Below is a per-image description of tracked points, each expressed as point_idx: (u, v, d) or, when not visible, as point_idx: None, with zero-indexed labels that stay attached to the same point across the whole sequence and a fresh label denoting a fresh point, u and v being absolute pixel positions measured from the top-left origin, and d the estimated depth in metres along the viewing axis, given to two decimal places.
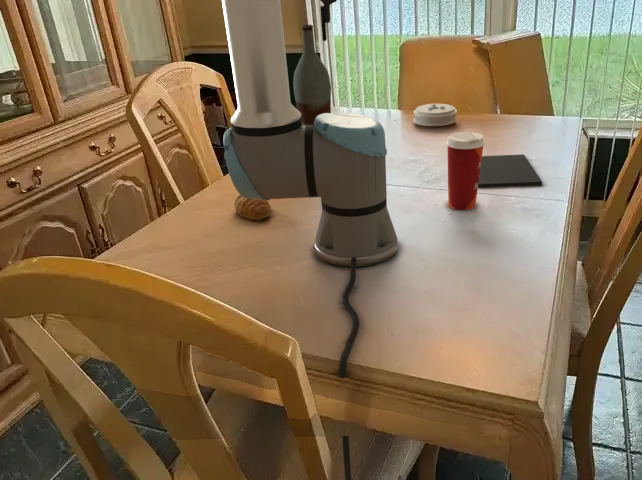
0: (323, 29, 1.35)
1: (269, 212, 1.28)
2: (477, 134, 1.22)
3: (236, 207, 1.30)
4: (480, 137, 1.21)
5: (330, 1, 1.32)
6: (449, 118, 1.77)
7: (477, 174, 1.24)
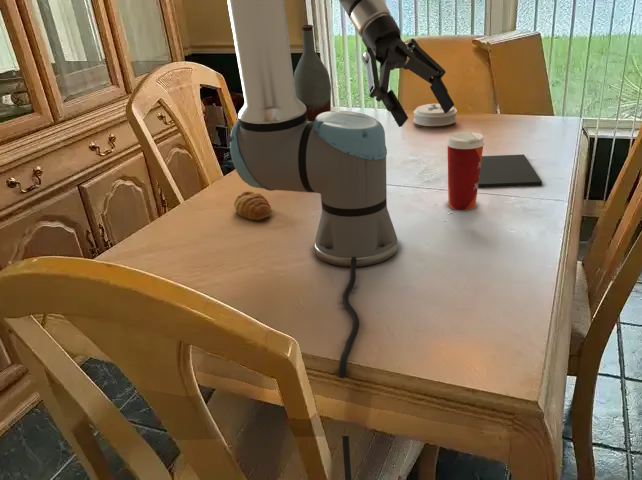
0: (447, 95, 1.29)
1: (269, 212, 1.28)
2: (477, 134, 1.22)
3: (236, 207, 1.30)
4: (480, 137, 1.21)
5: None
6: (449, 118, 1.77)
7: (477, 174, 1.24)
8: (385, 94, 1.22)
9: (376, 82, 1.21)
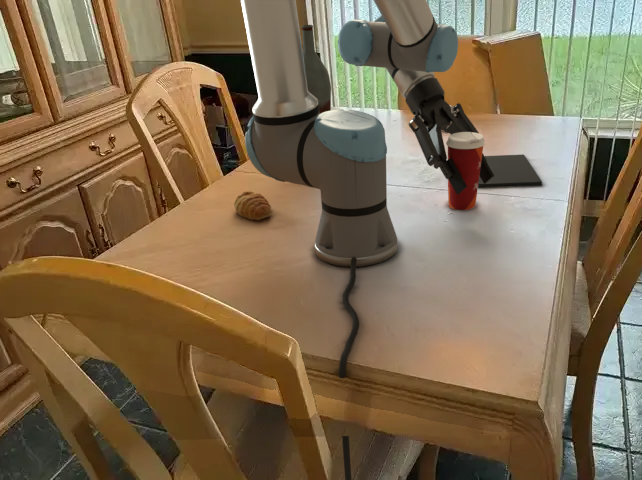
0: (487, 166, 1.26)
1: (269, 212, 1.28)
2: (477, 134, 1.22)
3: (236, 207, 1.30)
4: (480, 137, 1.21)
5: None
6: None
7: (477, 174, 1.24)
8: (444, 162, 1.21)
9: (434, 151, 1.20)
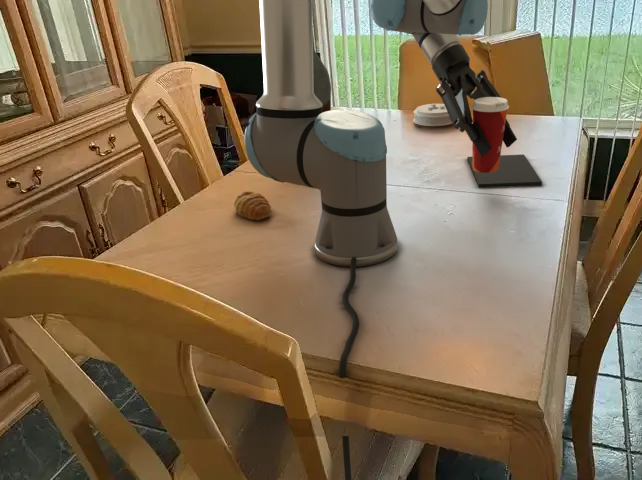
0: (510, 130, 1.31)
1: (269, 212, 1.28)
2: (501, 98, 1.28)
3: (236, 207, 1.30)
4: (504, 101, 1.26)
5: None
6: (449, 118, 1.77)
7: (501, 137, 1.29)
8: (470, 125, 1.27)
9: (460, 114, 1.26)
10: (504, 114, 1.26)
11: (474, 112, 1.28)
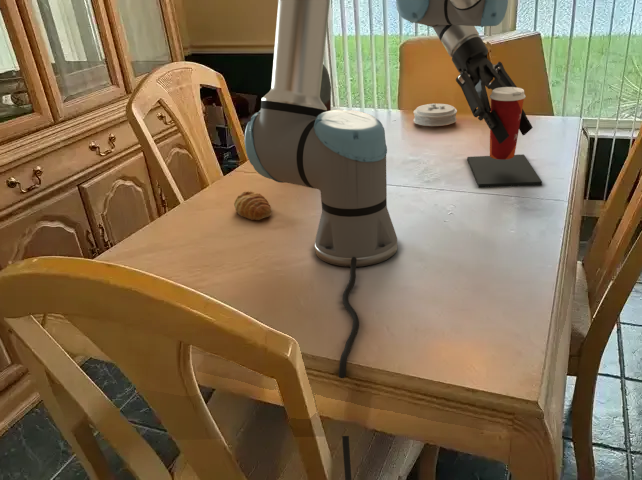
0: (526, 119, 1.38)
1: (269, 212, 1.28)
2: (518, 88, 1.34)
3: (236, 207, 1.30)
4: (521, 90, 1.33)
5: None
6: (449, 118, 1.77)
7: (517, 125, 1.36)
8: (488, 114, 1.34)
9: (479, 103, 1.33)
10: (521, 103, 1.33)
11: (492, 101, 1.34)
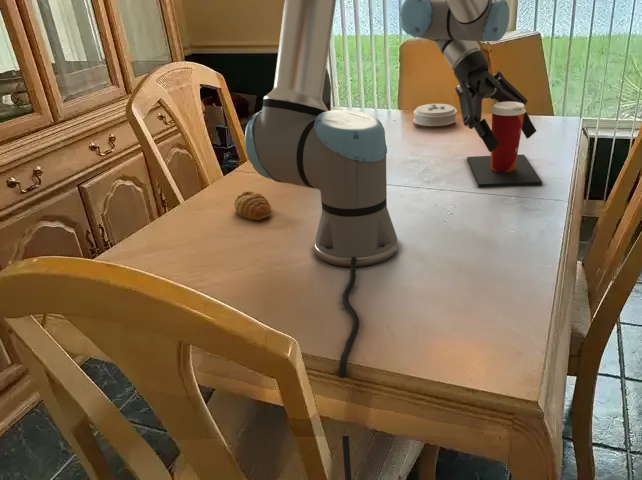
0: (530, 123, 1.42)
1: (269, 212, 1.28)
2: (518, 103, 1.37)
3: (236, 207, 1.30)
4: (522, 105, 1.36)
5: None
6: (449, 118, 1.77)
7: (518, 139, 1.39)
8: (478, 122, 1.35)
9: (471, 112, 1.34)
10: (521, 117, 1.36)
11: (493, 116, 1.37)
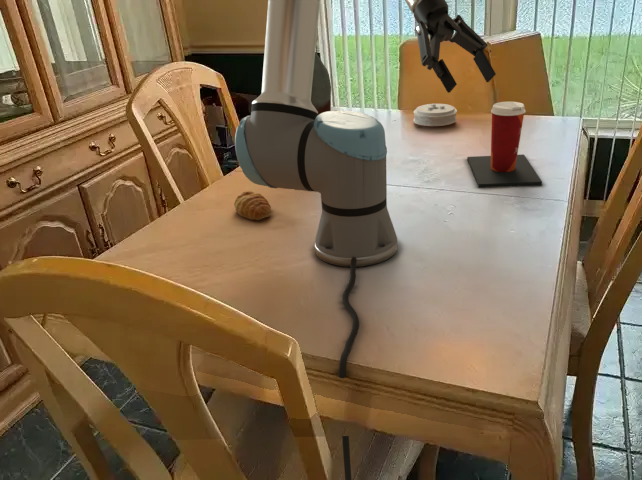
0: (490, 66, 1.44)
1: (269, 212, 1.28)
2: (518, 103, 1.37)
3: (236, 207, 1.30)
4: (522, 105, 1.36)
5: None
6: (449, 118, 1.77)
7: (518, 139, 1.39)
8: (436, 63, 1.37)
9: (428, 52, 1.36)
10: (521, 117, 1.36)
11: (493, 116, 1.37)
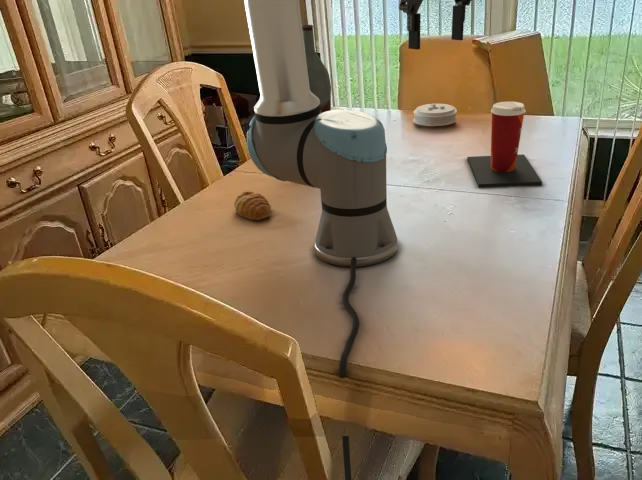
0: (462, 28, 1.35)
1: (269, 212, 1.28)
2: (518, 103, 1.37)
3: (236, 207, 1.30)
4: (522, 105, 1.36)
5: None
6: (449, 118, 1.77)
7: (518, 139, 1.39)
8: (412, 15, 1.26)
9: (411, 1, 1.23)
10: (521, 117, 1.36)
11: (493, 116, 1.37)
